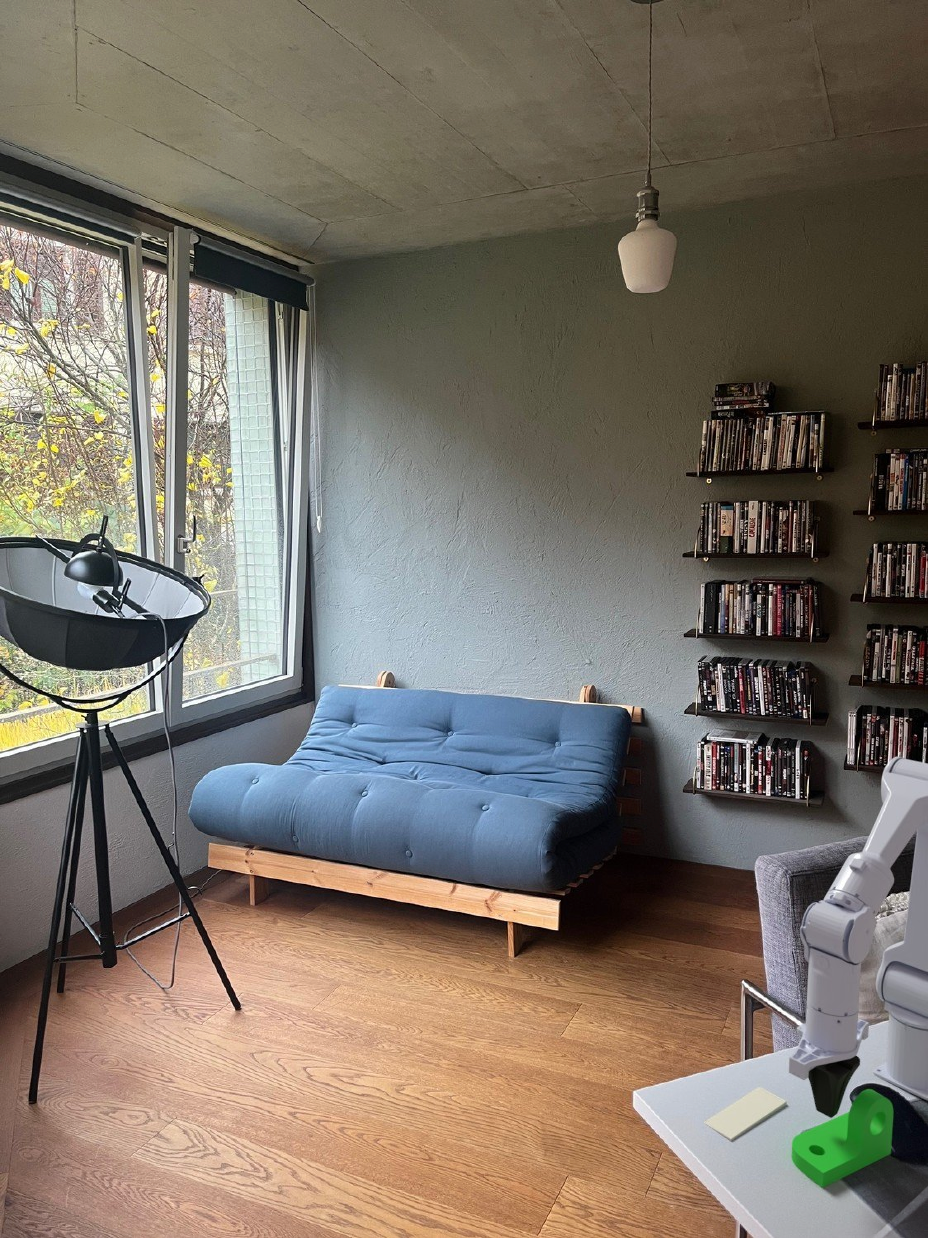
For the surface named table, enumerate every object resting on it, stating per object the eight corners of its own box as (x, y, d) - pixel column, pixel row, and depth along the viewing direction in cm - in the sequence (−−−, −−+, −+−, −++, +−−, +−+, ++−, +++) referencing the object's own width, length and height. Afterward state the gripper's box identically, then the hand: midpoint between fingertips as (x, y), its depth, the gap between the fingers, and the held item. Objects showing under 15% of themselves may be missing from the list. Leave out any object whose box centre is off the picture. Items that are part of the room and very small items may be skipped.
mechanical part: (847, 1127, 117) (851, 1066, 116) (890, 1155, 112) (894, 1092, 111) (780, 1158, 111) (783, 1094, 110) (822, 1190, 106) (826, 1123, 105)
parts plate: (759, 1092, 124) (759, 1086, 123) (786, 1107, 120) (786, 1101, 120) (703, 1128, 116) (703, 1122, 116) (730, 1145, 113) (730, 1139, 113)
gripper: (833, 973, 119) (827, 1074, 120) (767, 1010, 110) (762, 1119, 111) (887, 995, 114) (881, 1101, 115) (823, 1036, 104) (817, 1150, 106)
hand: (826, 1112), depth 113 cm, fingers closed
